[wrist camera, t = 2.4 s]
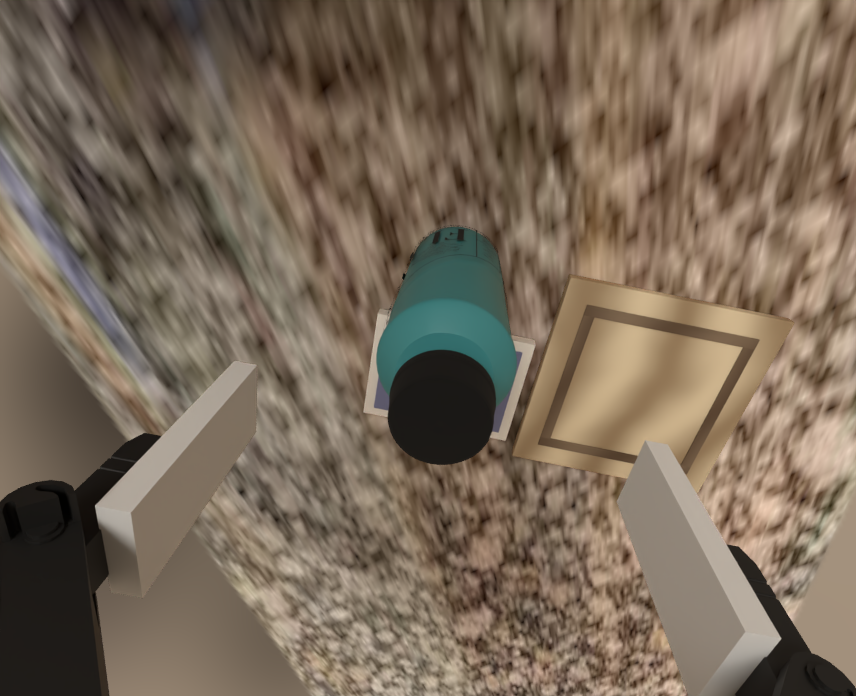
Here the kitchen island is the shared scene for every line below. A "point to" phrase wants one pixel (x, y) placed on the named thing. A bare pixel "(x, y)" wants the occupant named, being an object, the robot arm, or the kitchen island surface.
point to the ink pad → (504, 411)
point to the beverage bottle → (447, 348)
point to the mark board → (643, 378)
